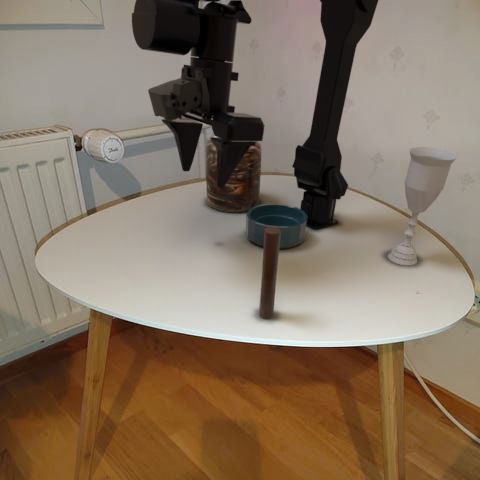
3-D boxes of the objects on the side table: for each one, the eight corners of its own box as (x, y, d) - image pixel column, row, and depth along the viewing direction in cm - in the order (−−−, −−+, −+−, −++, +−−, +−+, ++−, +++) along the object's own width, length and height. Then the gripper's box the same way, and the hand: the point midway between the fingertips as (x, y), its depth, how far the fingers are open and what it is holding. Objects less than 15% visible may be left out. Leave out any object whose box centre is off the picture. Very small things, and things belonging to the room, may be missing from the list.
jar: (263, 196, 97) (267, 127, 88) (253, 215, 88) (256, 140, 79) (214, 191, 99) (214, 122, 90) (199, 209, 90) (197, 135, 81)
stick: (267, 309, 61) (274, 225, 53) (275, 316, 59) (284, 231, 52) (256, 313, 60) (261, 228, 52) (264, 320, 59) (270, 235, 51)
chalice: (376, 249, 77) (402, 146, 66) (412, 248, 78) (442, 147, 67) (391, 268, 71) (421, 160, 61) (429, 268, 72) (466, 160, 61)
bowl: (281, 221, 86) (283, 199, 84) (316, 242, 79) (320, 219, 76) (235, 232, 81) (235, 210, 79) (267, 256, 74) (269, 232, 71)
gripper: (123, 46, 57) (125, 165, 65) (201, 59, 45) (192, 202, 54) (192, 56, 63) (186, 163, 72) (275, 70, 52) (257, 195, 60)
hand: (202, 178), depth 64 cm, fingers open, 9 cm apart
